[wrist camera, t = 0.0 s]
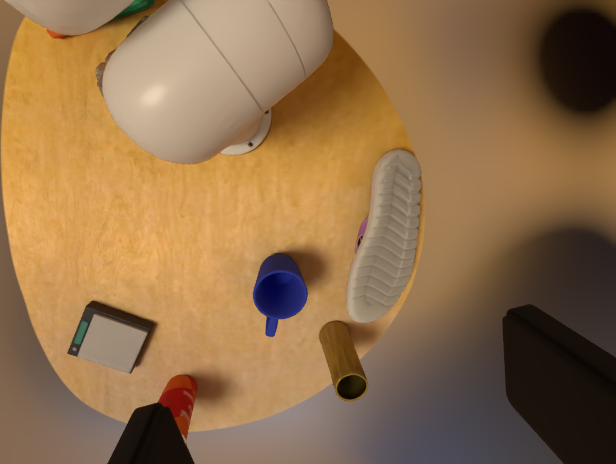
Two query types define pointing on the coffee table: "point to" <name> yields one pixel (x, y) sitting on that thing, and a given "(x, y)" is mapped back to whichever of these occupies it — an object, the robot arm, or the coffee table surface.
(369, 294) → the sandal
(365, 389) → the vase
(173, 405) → the paper cup
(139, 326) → the scale
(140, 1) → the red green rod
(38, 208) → the coffee table surface
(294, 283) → the mug
